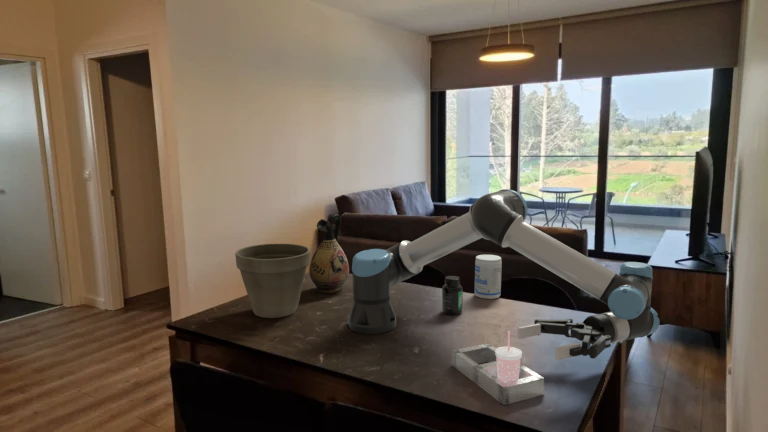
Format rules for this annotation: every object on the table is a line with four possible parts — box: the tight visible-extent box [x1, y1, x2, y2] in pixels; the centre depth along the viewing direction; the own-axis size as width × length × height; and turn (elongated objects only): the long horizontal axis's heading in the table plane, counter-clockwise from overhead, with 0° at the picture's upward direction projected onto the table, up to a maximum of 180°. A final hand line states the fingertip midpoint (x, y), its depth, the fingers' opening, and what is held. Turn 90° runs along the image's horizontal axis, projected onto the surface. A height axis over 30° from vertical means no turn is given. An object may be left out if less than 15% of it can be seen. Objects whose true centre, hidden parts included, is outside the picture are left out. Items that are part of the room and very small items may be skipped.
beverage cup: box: [495, 330, 523, 383], centre depth 118 cm, size 6×6×14 cm
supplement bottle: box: [441, 275, 464, 316], centre depth 171 cm, size 7×7×12 cm
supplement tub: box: [474, 254, 503, 300], centre depth 188 cm, size 10×10×15 cm
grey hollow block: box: [451, 343, 545, 406], centre depth 123 cm, size 22×11×4 cm, turn 23°
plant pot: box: [234, 243, 311, 319], centre depth 174 cm, size 25×25×22 cm
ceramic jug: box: [308, 213, 350, 294], centre depth 198 cm, size 17×15×30 cm
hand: (536, 343), depth 120 cm, fingers open, 13 cm apart
